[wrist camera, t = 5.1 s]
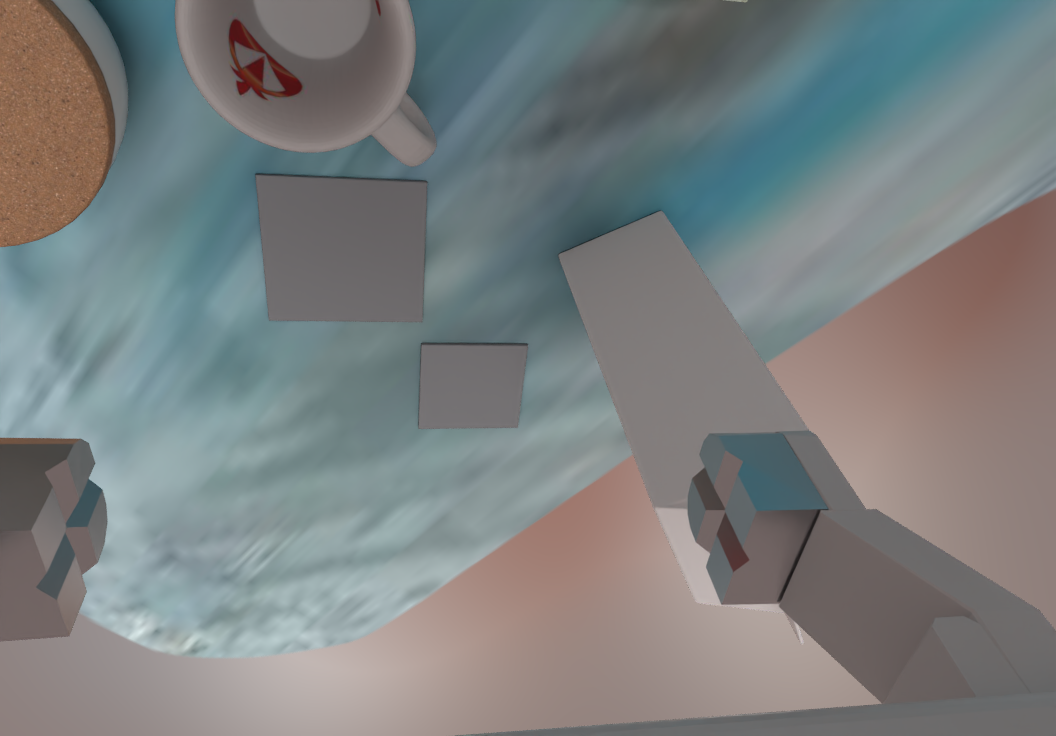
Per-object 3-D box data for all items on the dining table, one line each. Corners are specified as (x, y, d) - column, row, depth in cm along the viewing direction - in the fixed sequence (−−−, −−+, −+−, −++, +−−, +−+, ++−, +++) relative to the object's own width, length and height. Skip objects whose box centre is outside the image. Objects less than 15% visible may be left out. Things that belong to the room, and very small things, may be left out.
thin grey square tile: (427, 181, 39) (427, 182, 39) (422, 320, 44) (422, 322, 43) (256, 173, 38) (255, 175, 37) (269, 318, 42) (268, 320, 42)
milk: (661, 208, 42) (870, 508, 24) (690, 297, 45) (891, 617, 28) (554, 254, 42) (681, 580, 25) (591, 339, 46) (725, 678, 28)
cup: (489, 60, 36) (512, 118, 30) (361, 170, 38) (356, 247, 32) (310, -166, 30) (291, -154, 24) (171, -21, 33) (119, 25, 26)
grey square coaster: (527, 343, 46) (528, 345, 45) (517, 425, 49) (517, 427, 49) (421, 343, 44) (421, 345, 44) (418, 426, 48) (418, 428, 48)
